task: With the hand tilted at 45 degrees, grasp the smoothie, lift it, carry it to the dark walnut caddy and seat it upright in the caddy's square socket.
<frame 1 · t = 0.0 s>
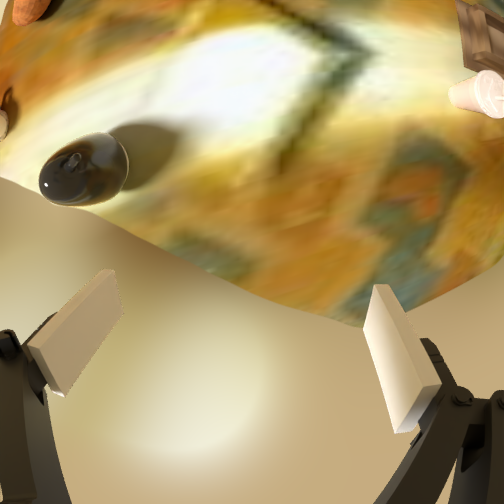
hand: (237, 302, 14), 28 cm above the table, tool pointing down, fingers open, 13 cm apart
mug: (1, 118, 37), on the table
smoothie: (457, 96, 31), on the table
potato: (44, 4, 28), on the table
caddy: (489, 44, 25), on the table
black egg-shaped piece: (111, 163, 40), on the table
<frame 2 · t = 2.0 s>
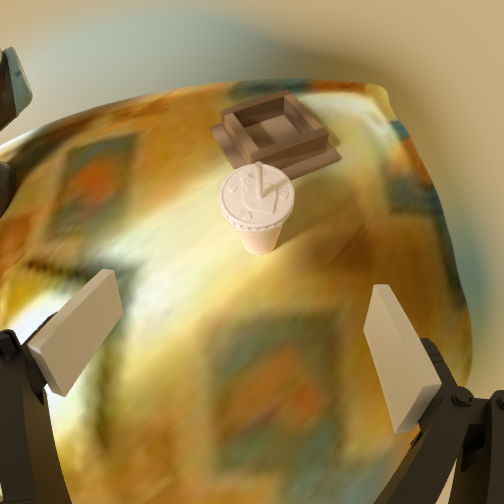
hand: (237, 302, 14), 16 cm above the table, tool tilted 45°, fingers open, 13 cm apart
smoothie: (259, 240, 33), on the table
caddy: (272, 143, 38), on the table
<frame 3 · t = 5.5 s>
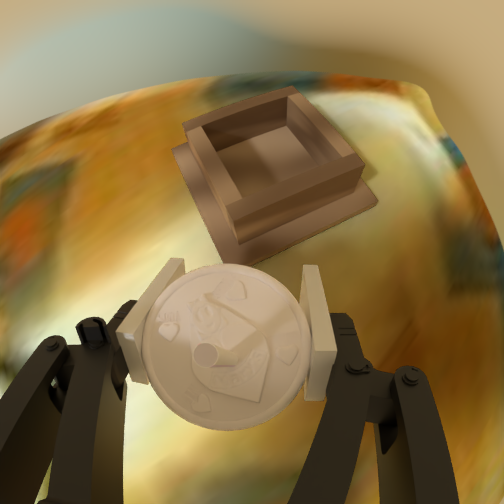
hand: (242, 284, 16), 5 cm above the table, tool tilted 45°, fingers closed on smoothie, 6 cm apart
smoothie: (244, 355, 19), on the table, touching gripper
caddy: (269, 175, 24), on the table
when the fingers open (7 cm above the table, at t = 10.2 s): smoothie drops 1 cm, resting on caddy.
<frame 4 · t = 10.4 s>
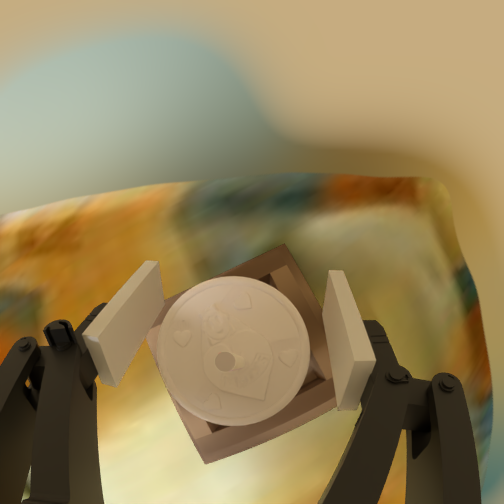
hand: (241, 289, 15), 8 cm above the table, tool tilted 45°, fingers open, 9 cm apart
smoothie: (245, 356, 20), point 1 cm above the table, touching caddy
caddy: (246, 356, 21), on the table
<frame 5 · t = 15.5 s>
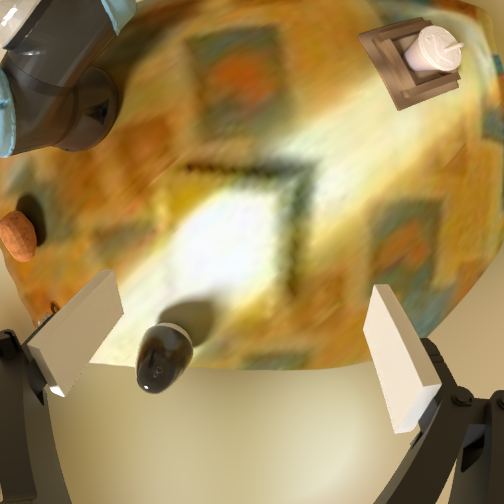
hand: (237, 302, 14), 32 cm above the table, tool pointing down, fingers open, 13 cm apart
smoothie: (412, 60, 32), point 1 cm above the table, touching caddy
potato: (29, 230, 51), on the table
caddy: (410, 61, 33), on the table
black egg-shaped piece: (173, 334, 56), on the table
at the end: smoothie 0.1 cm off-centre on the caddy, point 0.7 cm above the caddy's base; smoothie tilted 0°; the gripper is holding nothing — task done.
